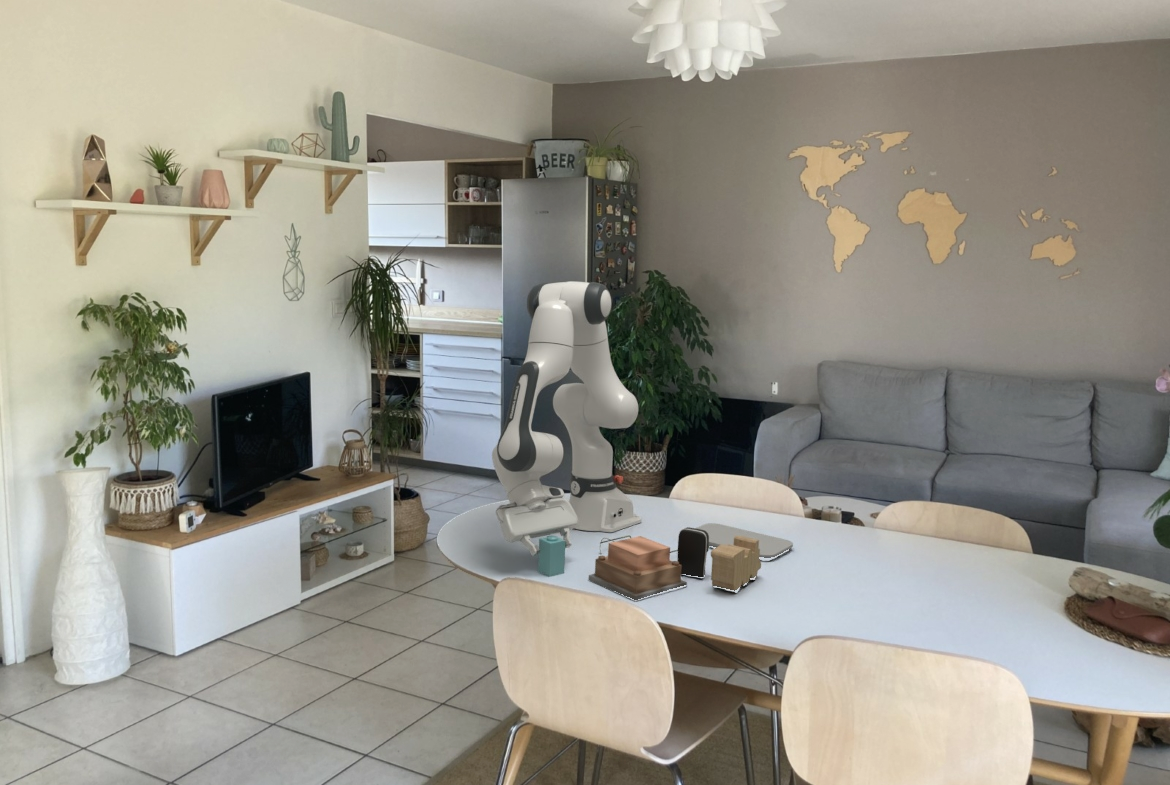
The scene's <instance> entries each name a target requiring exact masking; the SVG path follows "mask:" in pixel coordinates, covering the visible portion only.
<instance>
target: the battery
mask: <svg viewBox="0 0 1170 785" xmlns="http://www.w3.org/2000/svg"><path fill="white" fill-rule="evenodd" d="M696 528H697V527H695V528H694V527H689V526H688V527H685V528H682V529H681V530H680V531H679V533H678V540H677V550H678V551H677V561H678V562H679V564H680V565H682V568H681V574H686V575H691V576H698V577H704V575H705V576H706V562H707V556H708V555H707V554H708V552H709V549H710V548H709V535H708V533H707V532H706V531H705V530H701V529H696ZM704 578H705V577H704Z"/></svg>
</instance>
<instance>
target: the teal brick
mask: <svg viewBox="0 0 1170 785" xmlns="http://www.w3.org/2000/svg"><path fill="white" fill-rule="evenodd" d="M538 547H539V549H540V552H539V553H538V559H537V560H538V564H537V572H538V571H539V572H538V573H541V574H543V575H544V576H547V577H548V578H550V577H555V576H559V575H563V574H565V564H566V561H565V560H566V559H565V558H566V557H565V556H566V548H565V540H563V539H562V538H560V537H558V536H557V535H546V537H542V538H541V537H540V538H539V540H538Z"/></svg>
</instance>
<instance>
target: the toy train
mask: <svg viewBox="0 0 1170 785" xmlns="http://www.w3.org/2000/svg"><path fill="white" fill-rule="evenodd" d="M759 555H760V549H759V540H757V539H752V538H747V537H743V536H738V535H737V536H735V537H734V544H733V545H730V544H728V545H723V544H721V545H720V546H718V547H716V548H715V549H712V550H711V552H710V556H711V573H710V574H711V576H710V577H711V578H710V580H711V585H712V587H713V586H717V587H721V588H726V589H730V590H734V591H735V590H737V589H738V588H739V587H741V588H742V586H741V585H744V584H745V583H747V582H748V581H749V582H750V580H749V579H750V578H754V577H755V576H757V577H758V572H759V570H761V569H762V568H761V567H762V561H760V559H759Z"/></svg>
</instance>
